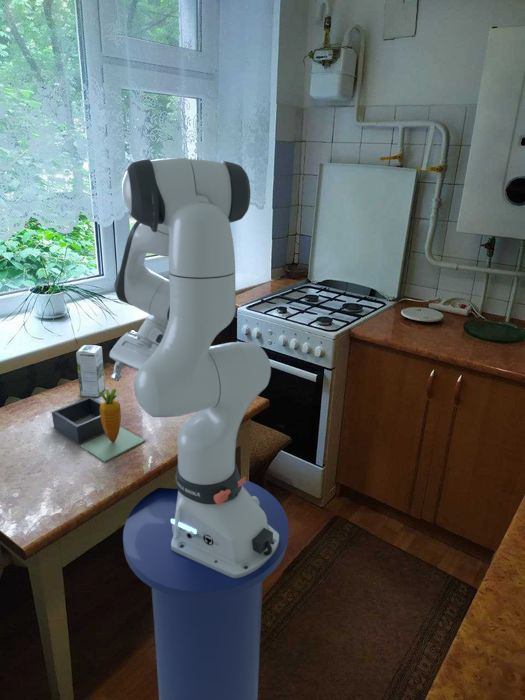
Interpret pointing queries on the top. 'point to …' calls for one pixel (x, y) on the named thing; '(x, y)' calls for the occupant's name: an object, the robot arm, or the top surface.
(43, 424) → the top surface
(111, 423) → the carrot
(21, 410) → the top surface
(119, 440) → the mat
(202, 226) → the robot arm
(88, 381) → the syrup box
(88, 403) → the crate
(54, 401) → the top surface
